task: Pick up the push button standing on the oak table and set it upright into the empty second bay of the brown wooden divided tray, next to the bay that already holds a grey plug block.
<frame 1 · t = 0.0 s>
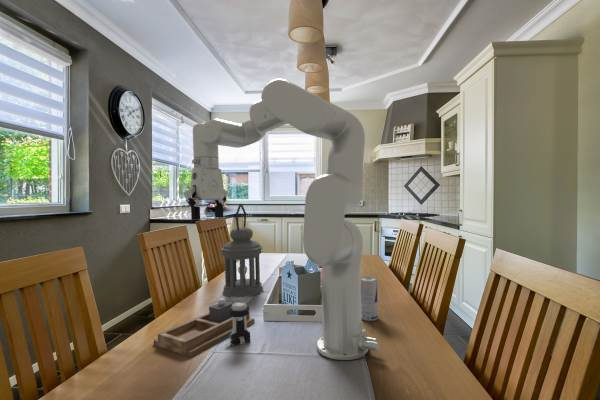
hand: (208, 218, 105), 31 cm above the table, tool pointing down, fingers open, 9 cm apart
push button: (237, 344, 87), on the table
lantern: (243, 291, 134), on the table
plug block: (222, 321, 98), point 1 cm above the table, touching brown wooden divided tray
brown wooden divided tray: (207, 332, 94), on the table
energy drink: (369, 318, 101), on the table
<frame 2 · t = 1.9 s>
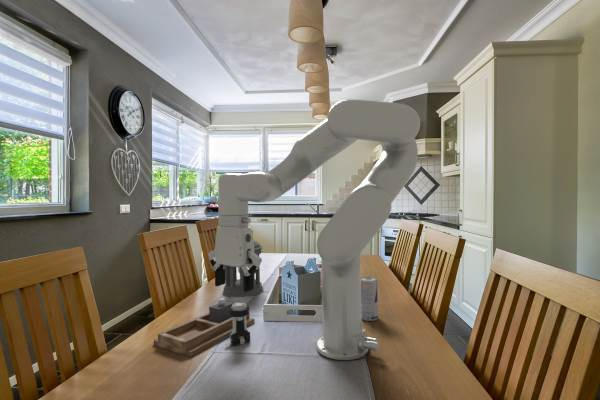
hand: (234, 287, 86), 14 cm above the table, tool pointing down, fingers open, 9 cm apart
nothing on the table moved.
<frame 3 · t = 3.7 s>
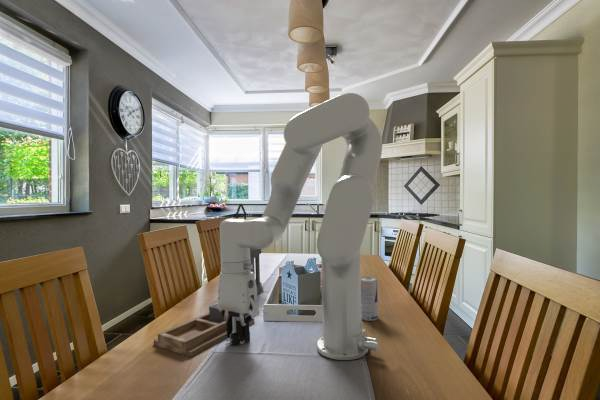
hand: (238, 336, 86), 2 cm above the table, tool pointing down, fingers closed on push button, 3 cm apart
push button: (237, 344, 87), on the table, touching gripper
everything else where it was.
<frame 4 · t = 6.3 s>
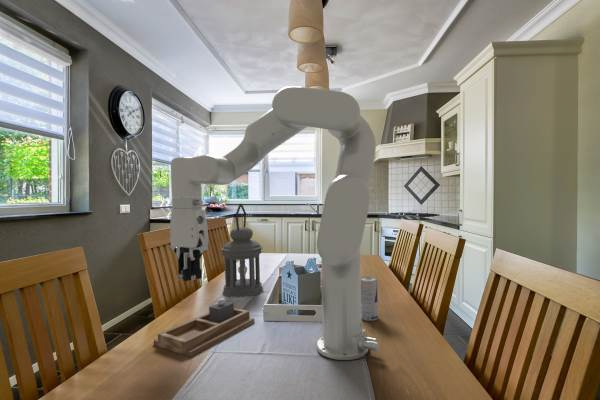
hand: (189, 273, 88), 18 cm above the table, tool pointing down, fingers closed on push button, 3 cm apart
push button: (188, 280, 89), point 16 cm above the table, touching gripper
everything else where it was.
when the fingers open (5 cm above the table, at t = 8.8 s): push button drops 2 cm, resting on brown wooden divided tray.
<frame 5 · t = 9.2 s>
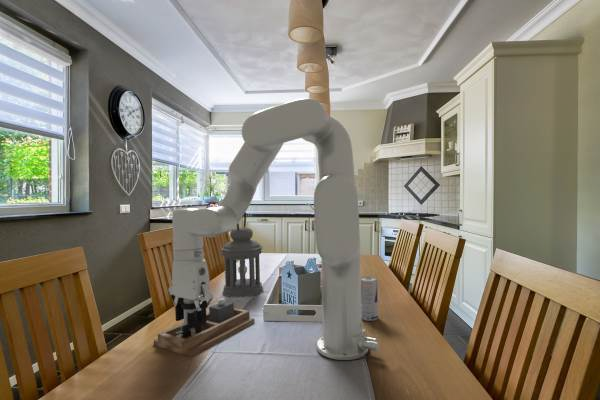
hand: (191, 321, 89), 5 cm above the table, tool pointing down, fingers open, 7 cm apart
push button: (188, 335, 90), point 1 cm above the table, touching brown wooden divided tray
everything else where it was.
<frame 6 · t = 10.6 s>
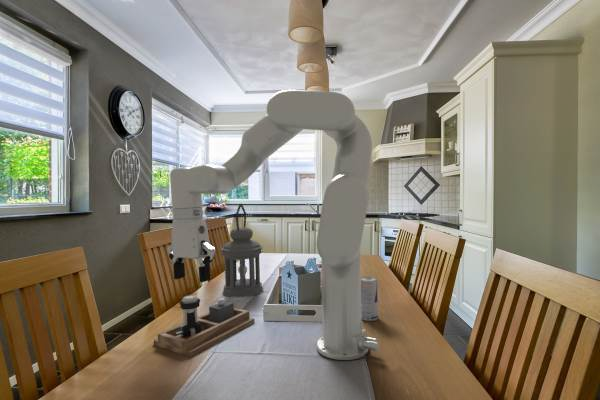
hand: (192, 279, 88), 16 cm above the table, tool pointing down, fingers open, 9 cm apart
nothing on the table moved.
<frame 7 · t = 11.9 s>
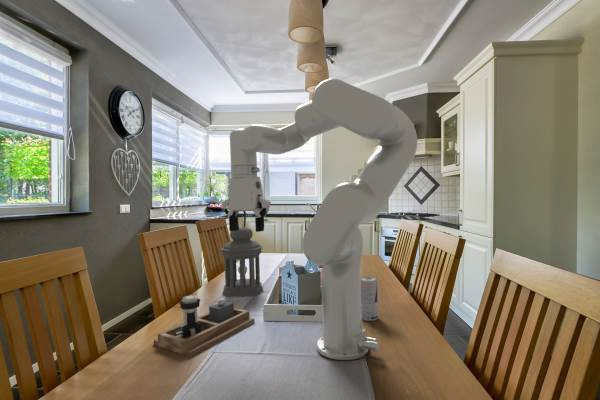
hand: (246, 230, 98), 28 cm above the table, tool pointing down, fingers open, 9 cm apart
nothing on the table moved.
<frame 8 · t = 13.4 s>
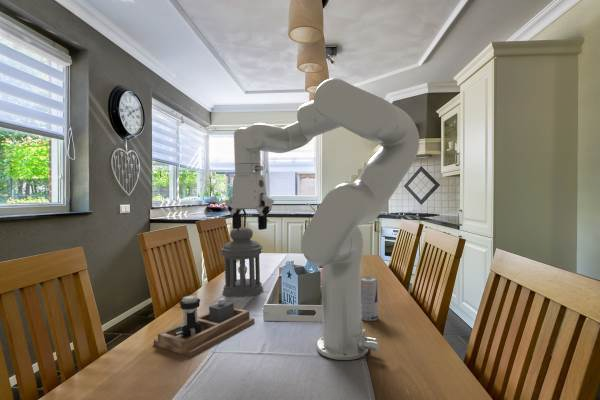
hand: (249, 228, 99), 28 cm above the table, tool pointing down, fingers open, 9 cm apart
nothing on the table moved.
at the end: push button inside the target area on the brown wooden divided tray (1.4 cm from its centre), point 1.0 cm above the brown wooden divided tray's base; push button tilted 0°; the gripper is holding nothing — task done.
